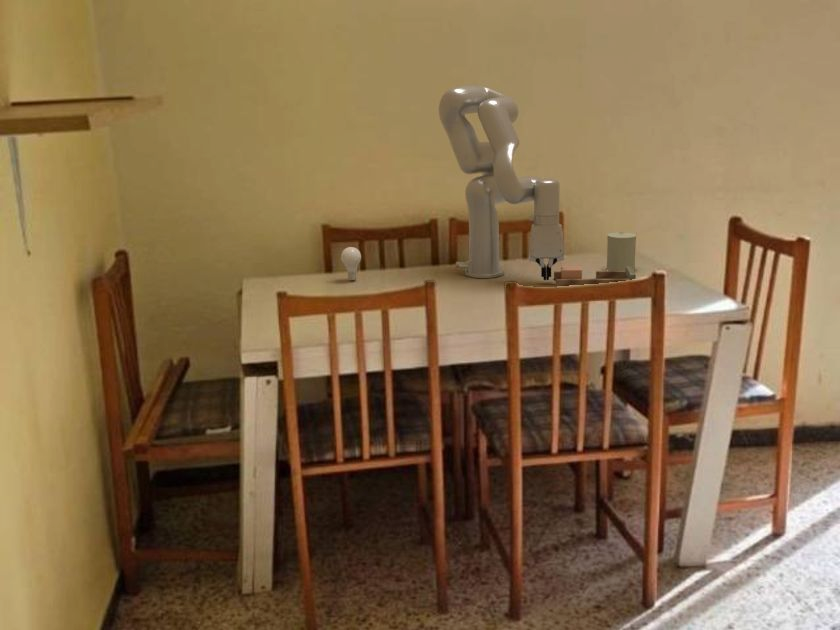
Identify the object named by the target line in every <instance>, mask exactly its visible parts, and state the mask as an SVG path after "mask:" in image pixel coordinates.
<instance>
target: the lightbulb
mask: <svg viewBox="0 0 840 630" xmlns="http://www.w3.org/2000/svg"><path fill="white" fill-rule="evenodd" d="M340 259H341V262H342V264H343V265H344V266H345V269H346V271H347V279H348V280H349V281H351V282H354V281H355V280H357V270H358V266H359V264H360V263H361V260H362V254H361V252H360V250H359V249H358V248H357V247H353V246H348V247H346V248H344V249H343V250H342V251H341V255H340Z"/></svg>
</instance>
